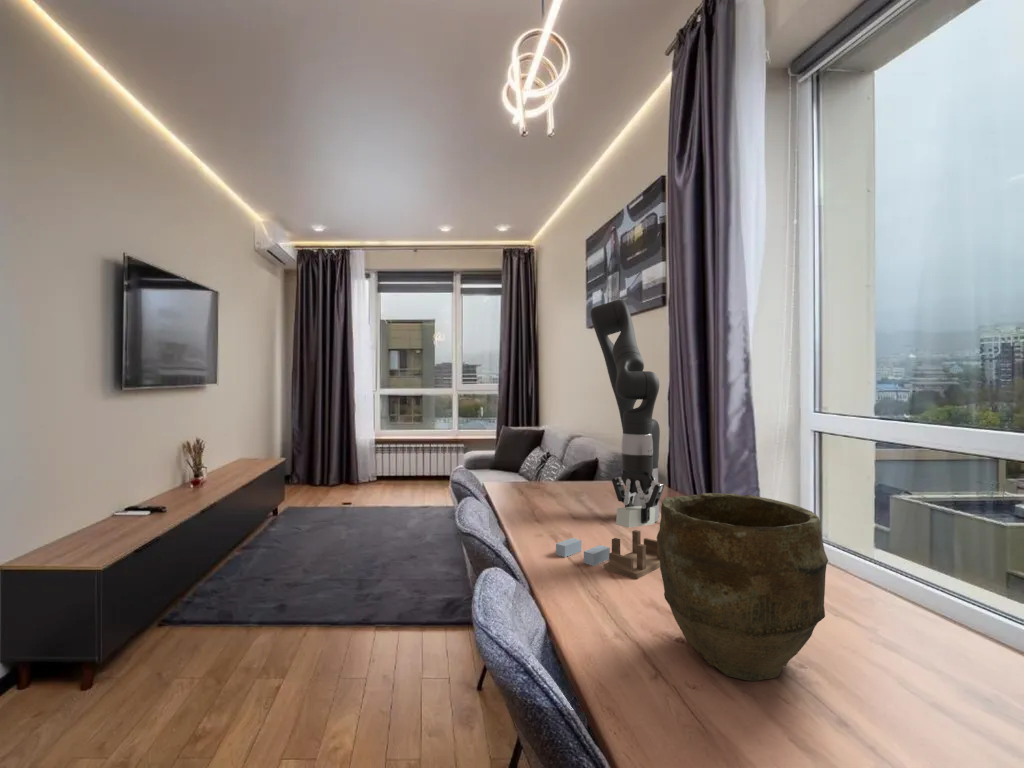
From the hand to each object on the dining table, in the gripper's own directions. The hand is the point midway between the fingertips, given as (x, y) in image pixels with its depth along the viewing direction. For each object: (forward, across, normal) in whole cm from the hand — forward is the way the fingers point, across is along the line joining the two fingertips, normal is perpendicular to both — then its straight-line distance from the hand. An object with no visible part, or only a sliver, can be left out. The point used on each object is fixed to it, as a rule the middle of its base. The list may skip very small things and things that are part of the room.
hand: (637, 521), depth 126 cm
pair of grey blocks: (+11, -13, -5) cm, 18 cm away
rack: (+11, 0, 0) cm, 11 cm away
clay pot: (+11, +34, -26) cm, 45 cm away
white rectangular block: (+1, 0, -1) cm, 1 cm away
